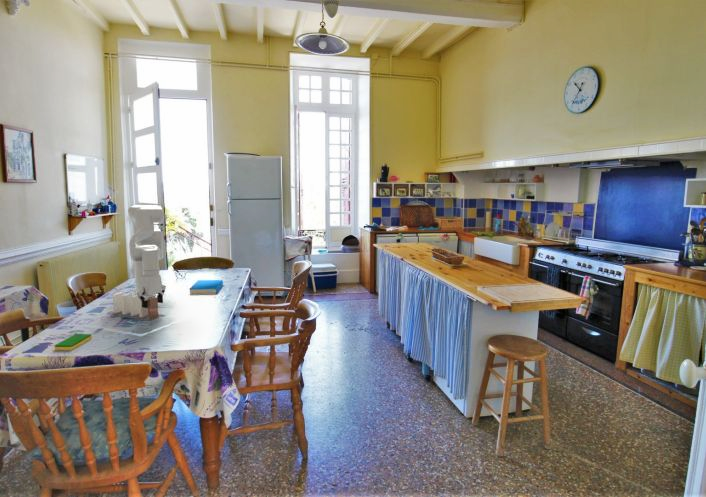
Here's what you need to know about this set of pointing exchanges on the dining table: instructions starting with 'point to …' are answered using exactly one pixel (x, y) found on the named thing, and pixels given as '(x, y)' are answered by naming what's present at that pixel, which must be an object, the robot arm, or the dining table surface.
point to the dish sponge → (73, 342)
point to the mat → (135, 316)
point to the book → (206, 287)
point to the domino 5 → (152, 308)
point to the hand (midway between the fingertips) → (152, 305)
